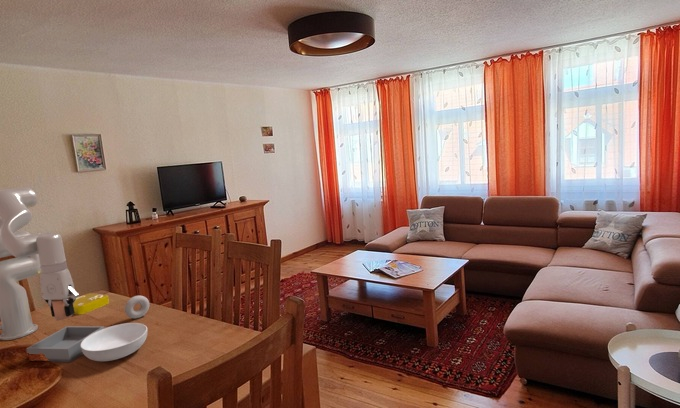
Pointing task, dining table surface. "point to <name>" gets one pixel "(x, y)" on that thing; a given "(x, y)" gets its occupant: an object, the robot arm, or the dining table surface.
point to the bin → (63, 343)
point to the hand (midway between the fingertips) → (63, 314)
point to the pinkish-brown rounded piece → (59, 309)
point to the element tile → (89, 302)
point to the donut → (139, 313)
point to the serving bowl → (114, 342)
